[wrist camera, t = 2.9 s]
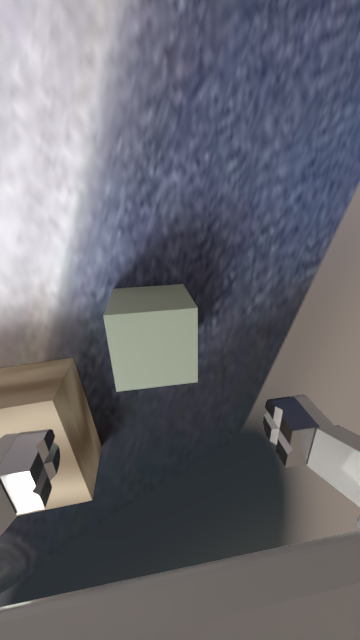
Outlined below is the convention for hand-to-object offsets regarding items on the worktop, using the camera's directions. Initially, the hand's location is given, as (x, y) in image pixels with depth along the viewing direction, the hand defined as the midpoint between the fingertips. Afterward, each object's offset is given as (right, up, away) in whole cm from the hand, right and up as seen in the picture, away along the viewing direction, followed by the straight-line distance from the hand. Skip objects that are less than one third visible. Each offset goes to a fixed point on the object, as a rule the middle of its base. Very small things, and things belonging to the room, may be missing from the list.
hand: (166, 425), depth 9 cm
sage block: (-2, +4, +9) cm, 10 cm away
